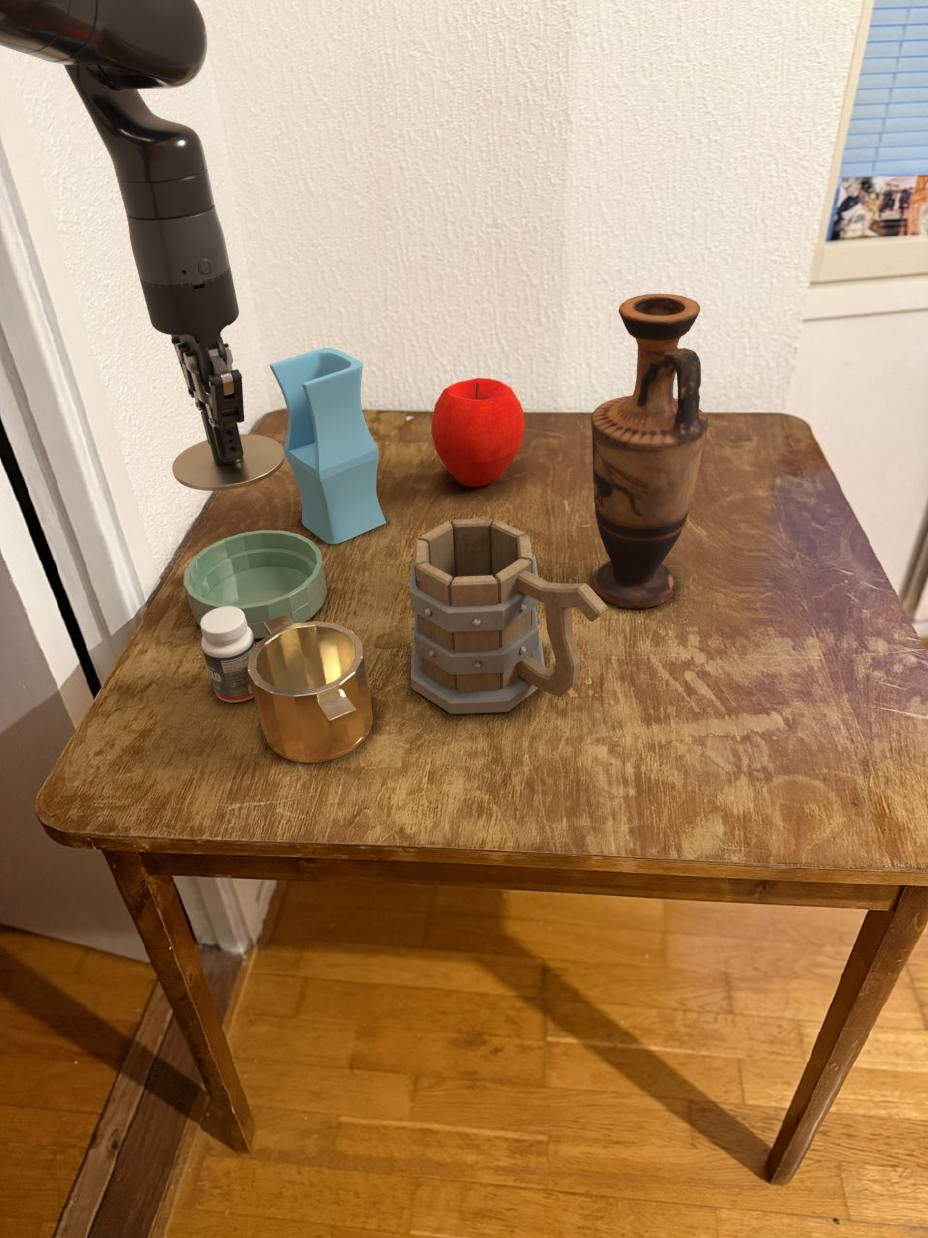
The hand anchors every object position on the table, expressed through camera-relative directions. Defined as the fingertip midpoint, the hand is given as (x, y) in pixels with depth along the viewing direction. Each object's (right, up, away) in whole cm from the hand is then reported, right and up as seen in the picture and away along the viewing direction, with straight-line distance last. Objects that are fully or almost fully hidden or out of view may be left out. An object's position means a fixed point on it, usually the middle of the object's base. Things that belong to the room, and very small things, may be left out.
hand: (226, 451), depth 85 cm
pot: (+10, -26, -4) cm, 28 cm away
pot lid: (0, -1, +1) cm, 1 cm away
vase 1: (+8, -4, +23) cm, 25 cm away
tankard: (+27, -23, -1) cm, 35 cm away
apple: (+25, +1, +30) cm, 39 cm away
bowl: (+1, -14, +11) cm, 18 cm away
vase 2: (+41, -13, +10) cm, 44 cm away
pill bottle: (+1, -23, 0) cm, 23 cm away
